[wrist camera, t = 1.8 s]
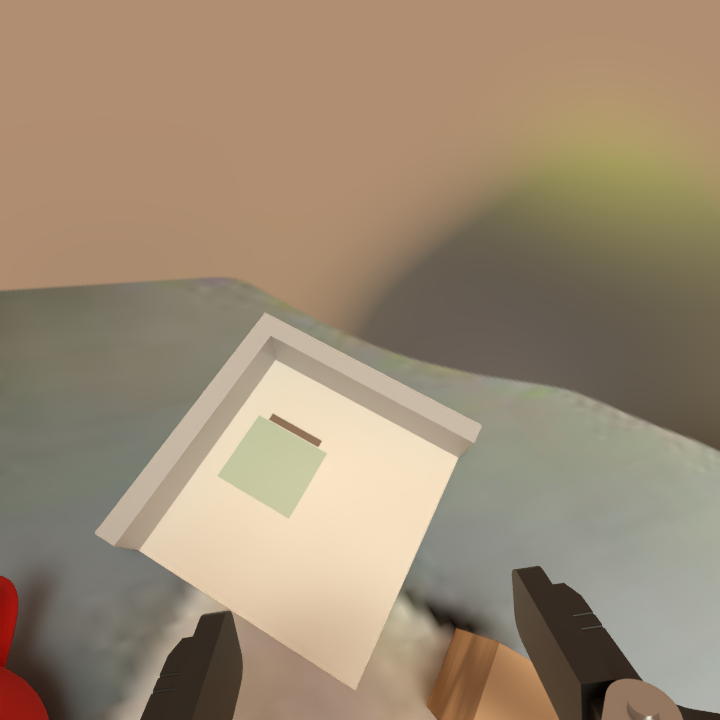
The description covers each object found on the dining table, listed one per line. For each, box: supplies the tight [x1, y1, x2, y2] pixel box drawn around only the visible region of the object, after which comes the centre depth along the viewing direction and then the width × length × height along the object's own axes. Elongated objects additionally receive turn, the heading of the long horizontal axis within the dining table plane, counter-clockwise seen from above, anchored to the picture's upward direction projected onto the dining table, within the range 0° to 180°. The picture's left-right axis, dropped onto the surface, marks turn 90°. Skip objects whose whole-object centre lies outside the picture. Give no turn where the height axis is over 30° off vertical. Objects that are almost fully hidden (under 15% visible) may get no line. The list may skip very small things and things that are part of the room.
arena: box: [95, 313, 482, 691], centre depth 34 cm, size 20×20×5 cm
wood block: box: [427, 628, 559, 720], centre depth 27 cm, size 5×5×9 cm
